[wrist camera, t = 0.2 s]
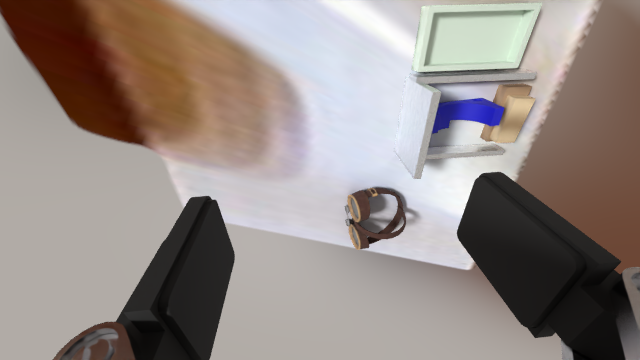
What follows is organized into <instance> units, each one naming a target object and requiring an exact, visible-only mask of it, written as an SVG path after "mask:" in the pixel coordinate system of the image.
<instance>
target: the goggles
mask: <svg viewBox="0 0 640 360" xmlns="http://www.w3.org/2000/svg"><path fill="white" fill-rule="evenodd" d="M378 194H391V195H393V196H395V197H396V199H397V201H398V209H397V213H396V215H395V216H394V218H393V220H392V221H391V222H390V224H389V225H388V226H387V227H386V228H385V229H383V230H382V231H381V232H379V233H373V232H370V231H368V230H365V229H364V228H363V227H361V225H360V224H359V223H358V222H359V221H364V220H367V219H368V218H369V215H370V204H369V200H368V197H370V196H372V197H374V196H378ZM348 207H349V208H348ZM345 210H346V213H347V217H348V213H349V211H350V213H351V216H352V219H353V221H354V223H353V224H350V223H349V218H348V219H347V220H346V225H347V226H349V234H350V238H351V240H352V243H353V245H354V246H355V248H356V249H357V250H359V249H364V248H369V244H372V243H374V242H377V241H379V240H381V239H390V238H394V237H396V236H398V235H399V234H400V233H401V232H403V230H404V228H405V225H406V217H405V214H404V212H403V205H402V202H401V200H400V197H399V196H398V195H397V194H396V193H395V192H392V191H390V190H387V189H383V188H376V189H374V188H370V189H367V191H365V192H363V191H358V192H356V193H354V194H352V195H349V196H348V206H345ZM401 217H403V219H404V224H403V226H402V227H401V228H400V229H399V230H398V231H395V232H393V233H391V232H392V231H393V230H394V229H395V227H396V226H397V225H398V223H399V221H400V219H401ZM366 235H367V236H369V237H368V238H367V237H366Z"/></svg>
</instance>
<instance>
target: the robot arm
mask: <svg viewBox="0 0 640 360" xmlns="http://www.w3.org/2000/svg"><path fill="white" fill-rule="evenodd" d="M457 236H458V239H459V241H460V242H461V244H462V245H463V246H464V248H465V249H466V250H467V252H468V253H469V254H470V256H471V257H472V258H473V260H474V261H475V263H476V264H477V265H478V267H479V268H480V269H481V271H482V272H483V273H484V275H485V276H486V277H487V279H488V280H489V281H490V283H491V284H492V286H493V287H494V288H495V290H496V291H497V292H498V294H499V295H500V296H501V298H502V299H503V300H504V302H505V303H506V305H507V306H508V307H509V309H510V310H511V311H512V313H513V314H514V315H515V317H516V318H517V319H518V321H519V322H520V323H521V324H522V325H523V326H525V327H527V328H528V329H529V331H530V332H531V333H532V335H533V336H534V337H535V338H538V337H548V336H552V335H553V334H554V333H555V332H556V333H557V335H558V336H559V337H560V338H561V347H562V360H640V268H638V267H633V268H627V269H625V270H624V271H623V272H622V273H621V274H619V273H617V272H616V271H615V270H614V269H615V268H616V267H617V266H618V265H619V264H620V263H621V261H620V260H619V259H617V258H616V257H615V256H613V255H612V254H611V253H609V252H608V251H607V250H605V249H604V248H603V247H601V246H600V245H598V244H597V243H596V242H595V241H593V240H592V239H591V238H589V237H588V236H587V235H585V234H584V233H582V232H581V231H580V230H578V229H577V228H576V227H575V226H573V225H572V224H570V223H569V222H568V221H566V220H565V219H564V218H562V217H561V216H560V215H558V214H557V213H556V212H554V211H553V210H552V209H550V208H549V207H548V206H546V205H545V204H544V203H542V202H541V201H539V200H538V199H537V198H536V197H534V196H533V195H532V194H530V193H529V192H528V191H526V190H525V189H523V188H522V187H521V186H520V185H518V184H517V183H516V182H514V181H513V180H512V179H510V178H509V177H508V176H506V175H505V174H503V173H501V172H491V173H483V174H481V175H480V176H479V178H477V179H476V180H475V182H474V185H473V188H472V190H471V193H470V196H469V199H468V202H467V205H466V207H465V210H464V213H463V216H462V219H461V222H460V224H459V227H458V230H457ZM234 257H235V256H234V250H233V247H232V244H231V242H230V239H229V236H228V233H227V230H226V227H225V224H224V221H223V218H222V215H221V212H220V209H219V206H218V203H217V201H216V200H212V199H211V198H210V197H209V196H202V197H192V198H190V199H189V201H188V203H187V204H186V206H185V208H184V209H183V211H182V213H181V215H180V216H179V218H178V220H177V221H176V223H175V225H174V226H173V228H172V230H171V232H170V233H169V235H168V237H167V238H166V240H165V241H164V242H163V243H162V244H161V246H160V248H159V250H158V251H157V253H156V255H155V257H154V258H153V260H152V261H151V263H150V265H149V267H148V268H147V270H146V272H145V273H144V275H143V277H142V278H141V280H140V282H139V284H138V285H137V287H136V289H135V290H134V292H133V294H132V295H131V297H130V299H129V300H128V302H127V304H126V305H125V307H124V309H123V310H122V312H121V314H120V316H119V317H118V319H117V321H116V322H104V323H100V324H97V325H94V326H92V327H90V328H88V329H86V330H84V331H83V332H81V333H80V334H78V335H77V336H75V337H74V338H73V339H71V340H70V341H69V342H68V343H67V344H66V345H65V346H64V347H63V348H62V349H61V350H60V351H59V352H58V353H57V354H56V356H55V357H54V359H53V360H209V359H210V356H211V352H212V348H213V344H214V340H215V336H216V332H217V328H218V324H219V320H220V316H221V312H222V308H223V304H224V300H225V296H226V292H227V288H228V284H229V280H230V276H231V272H232V268H233V264H234Z"/></svg>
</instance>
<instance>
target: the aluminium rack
mask: <svg viewBox="0 0 640 360" xmlns="http://www.w3.org/2000/svg"><path fill="white" fill-rule="evenodd" d="M536 74H537V72H533V71H529V70H525V69H513V70H489V71H465V72H441V73H417V74H409V77H406V78H405V84H404V90H403V97H402V103H401V110H400V116H399V123H398V129H397V135H396V142H395V148H394V152H395V154H396V155H397V157H398V158H399V159H400V161H401V162H402V163H403V165H404V166H405V168H406V169H407V170H408V172H409V173H410V174H411V176H412V177H413V178H414V179H420V178H421V176H422V171H423V167H424V163H425V159H442V158H458V157H474V156H490V155H502V154H503V151H504V150H503V149H502V148H500V147H498V146H497V145H495V144H477V145H460V146H443V147H428V146H429V142H430V138H431V134H432V129H433V125H434V121H435V117H436V112H437V108H438V104H439V100H440V96H441V91H439V90H437V89H435V88H433V87H431V86H429V85H427V84H430V83H452V82H475V81H498V80H520V79H534V78H535V76H536Z"/></svg>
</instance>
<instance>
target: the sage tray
mask: <svg viewBox="0 0 640 360" xmlns="http://www.w3.org/2000/svg"><path fill="white" fill-rule="evenodd" d="M541 6H542V3H512V4H473V5H435V6H422V9H421V15H420V21H419V27H418V33H417V39H416V45H415V51H414V57H413V63H412V70H414V71H416V72H432V71H456V70H480V69H504V68H518V66H519V63H520V61H521V58H522V56H523V53H524V50H525V48H526V45H527V42H528V40H529V37H530V35H531V32H532V29H533V27H534V24H535V21H536V19H537V16H538V14H539V11H540V8H541Z"/></svg>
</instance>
